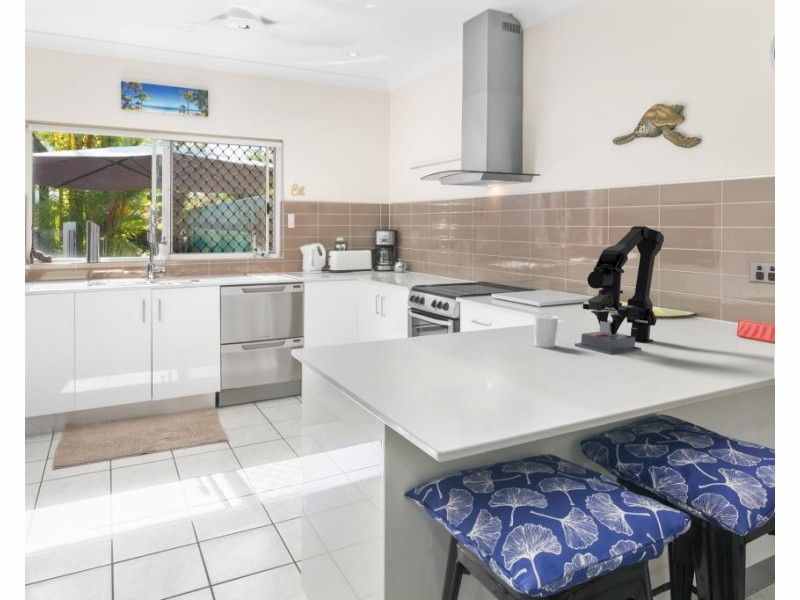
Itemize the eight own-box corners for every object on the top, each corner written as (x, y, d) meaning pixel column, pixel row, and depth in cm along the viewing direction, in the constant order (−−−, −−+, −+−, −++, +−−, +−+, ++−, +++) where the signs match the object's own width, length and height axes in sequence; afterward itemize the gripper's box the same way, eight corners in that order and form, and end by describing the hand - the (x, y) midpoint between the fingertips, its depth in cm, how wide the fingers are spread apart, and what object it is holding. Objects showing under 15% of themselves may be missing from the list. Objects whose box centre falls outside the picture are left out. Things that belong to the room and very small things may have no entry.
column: (606, 343, 193) (608, 320, 192) (616, 345, 190) (618, 322, 189) (598, 344, 191) (599, 321, 190) (608, 346, 187) (609, 323, 186)
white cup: (557, 348, 188) (558, 319, 186) (532, 347, 189) (534, 318, 188) (555, 344, 195) (557, 315, 194) (532, 343, 197) (533, 314, 196)
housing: (604, 342, 201) (605, 328, 200) (641, 350, 188) (642, 335, 187) (574, 345, 193) (575, 331, 193) (610, 354, 180) (611, 339, 180)
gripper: (572, 285, 192) (570, 330, 194) (618, 291, 176) (615, 340, 178) (595, 284, 197) (592, 328, 199) (641, 289, 181) (638, 337, 183)
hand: (608, 333), depth 190 cm, fingers closed on column, 4 cm apart
